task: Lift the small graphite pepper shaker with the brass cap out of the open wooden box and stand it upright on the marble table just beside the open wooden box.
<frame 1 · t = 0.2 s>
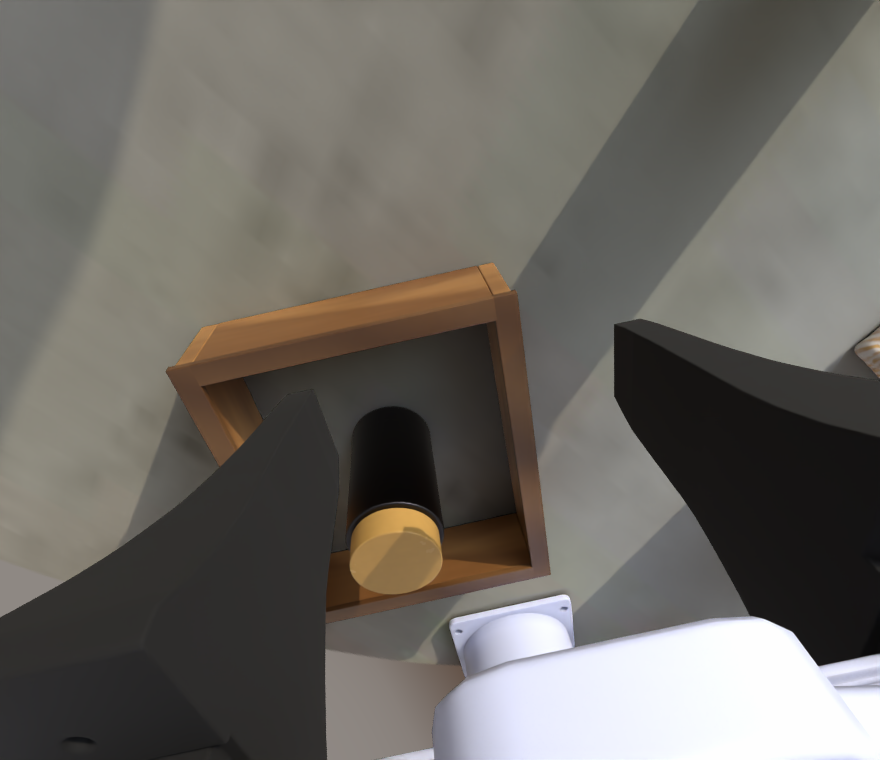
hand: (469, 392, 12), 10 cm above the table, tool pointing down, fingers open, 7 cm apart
pepper shaker: (393, 492, 22), in the open wooden box
open wooden box: (391, 438, 25), on the table
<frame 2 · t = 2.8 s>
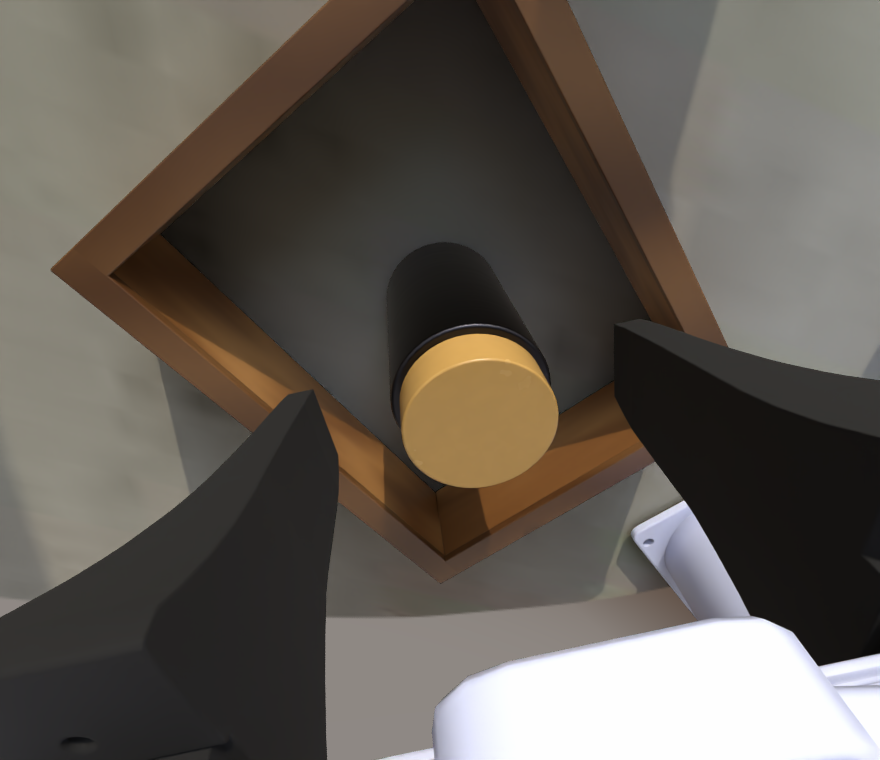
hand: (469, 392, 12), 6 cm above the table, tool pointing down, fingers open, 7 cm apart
pepper shaker: (457, 347, 14), in the open wooden box
open wooden box: (442, 297, 17), on the table
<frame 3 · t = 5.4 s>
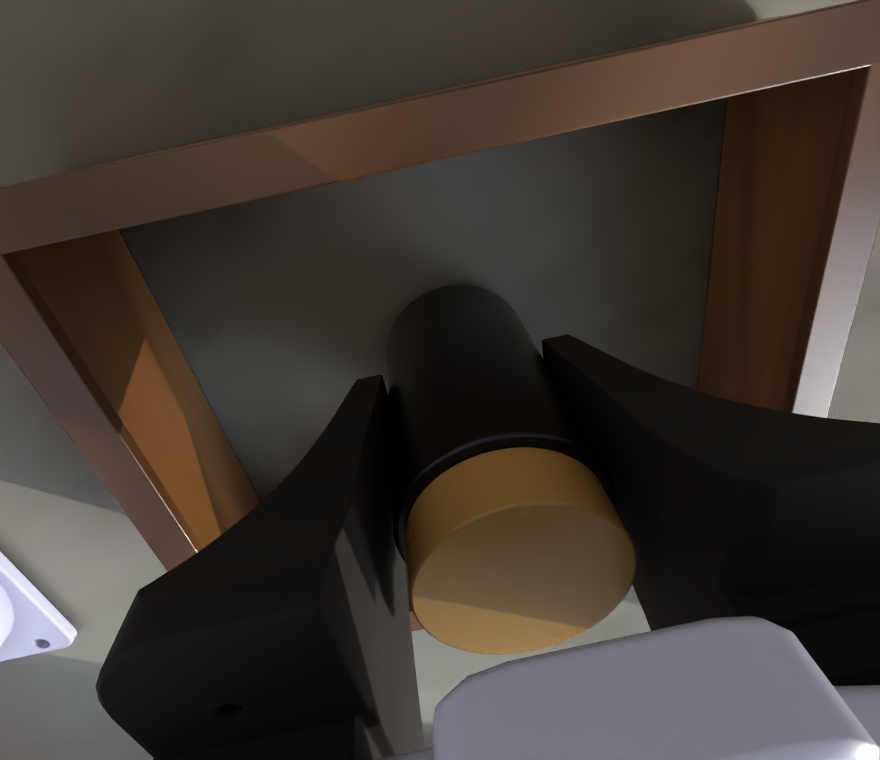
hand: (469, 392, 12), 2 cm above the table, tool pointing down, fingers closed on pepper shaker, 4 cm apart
pepper shaker: (480, 432, 11), in the open wooden box, touching gripper
open wooden box: (457, 349, 14), on the table
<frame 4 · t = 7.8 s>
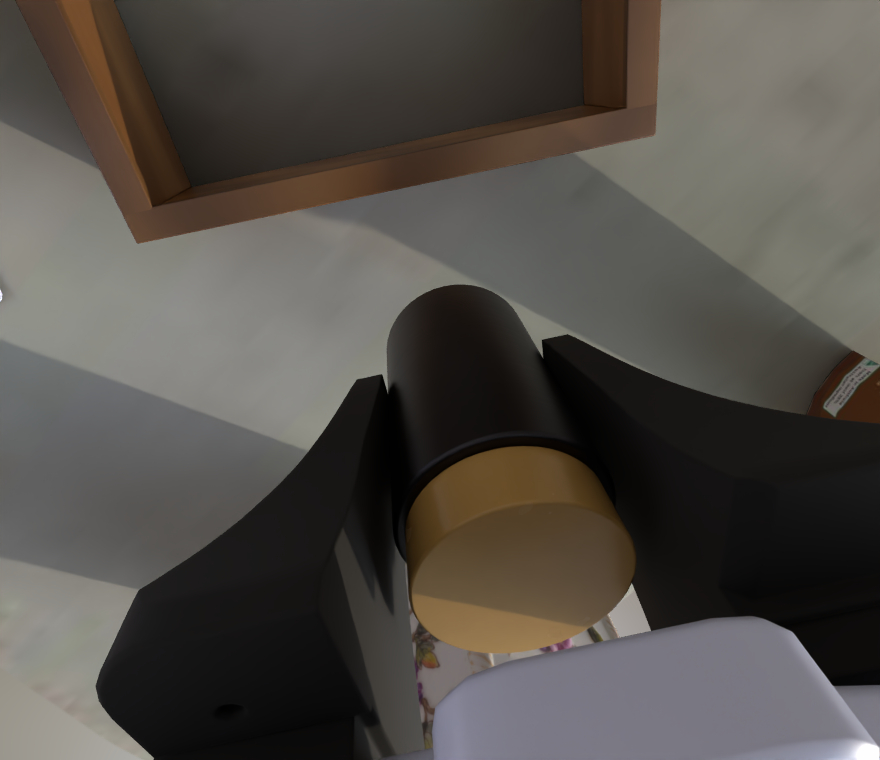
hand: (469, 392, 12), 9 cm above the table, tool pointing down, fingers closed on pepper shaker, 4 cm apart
pepper shaker: (479, 431, 11), point 11 cm above the table, touching gripper
decorative jar: (466, 594, 31), on the table
food container: (842, 432, 27), on the table
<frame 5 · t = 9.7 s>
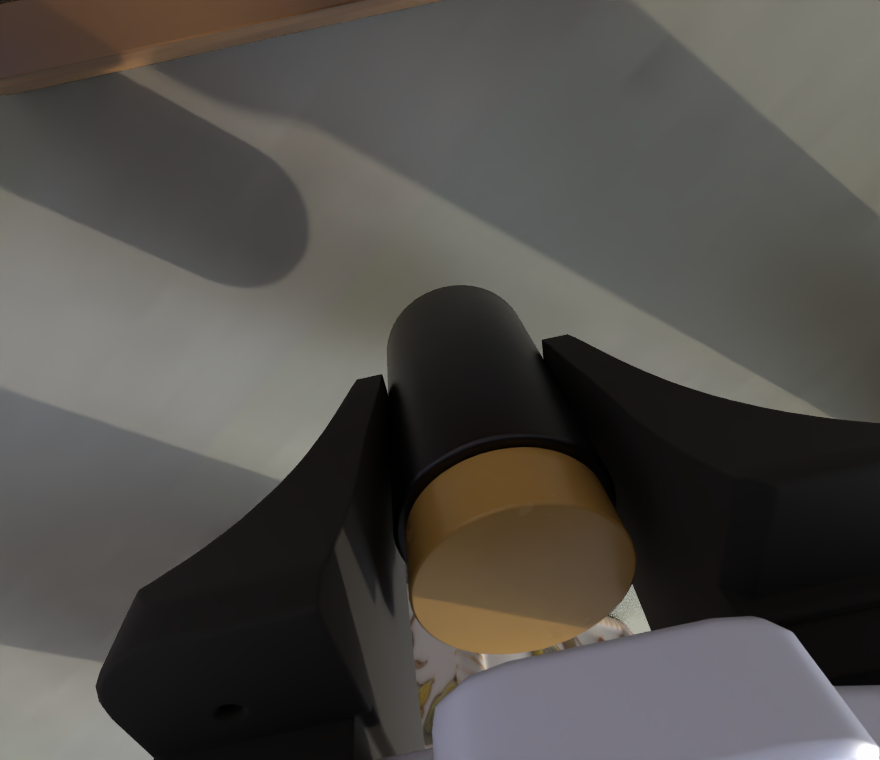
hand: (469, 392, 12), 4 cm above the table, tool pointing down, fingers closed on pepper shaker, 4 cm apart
pepper shaker: (480, 432, 11), point 5 cm above the table, touching gripper
decorative jar: (469, 646, 24), on the table
when the fingers open (2 cm above the table, at t = 10.7 s): pepper shaker stays where it is, on the table.
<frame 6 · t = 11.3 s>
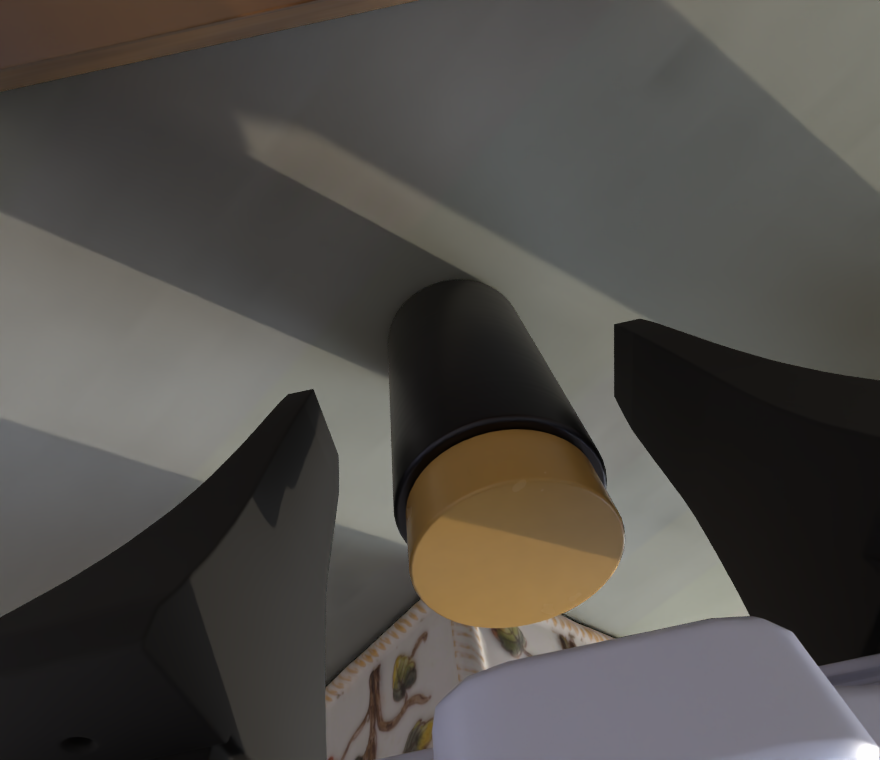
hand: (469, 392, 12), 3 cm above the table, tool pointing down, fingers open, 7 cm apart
pepper shaker: (477, 420, 11), on the table
decorative jar: (473, 670, 23), on the table
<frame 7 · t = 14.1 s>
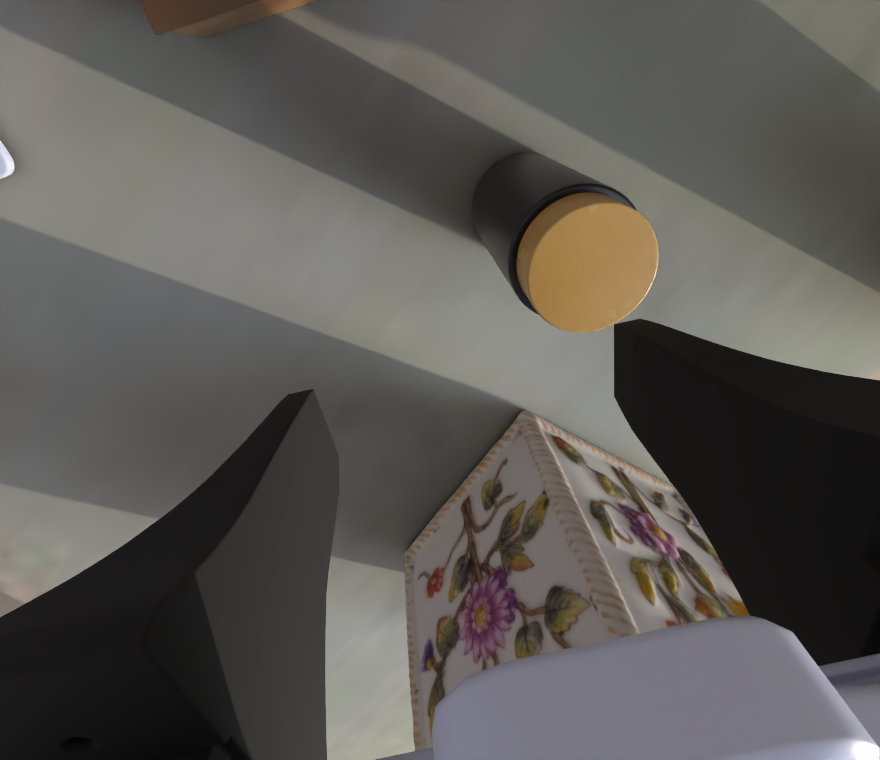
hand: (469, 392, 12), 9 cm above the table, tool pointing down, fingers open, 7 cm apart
pepper shaker: (549, 232, 16), on the table
decorative jar: (540, 517, 28), on the table
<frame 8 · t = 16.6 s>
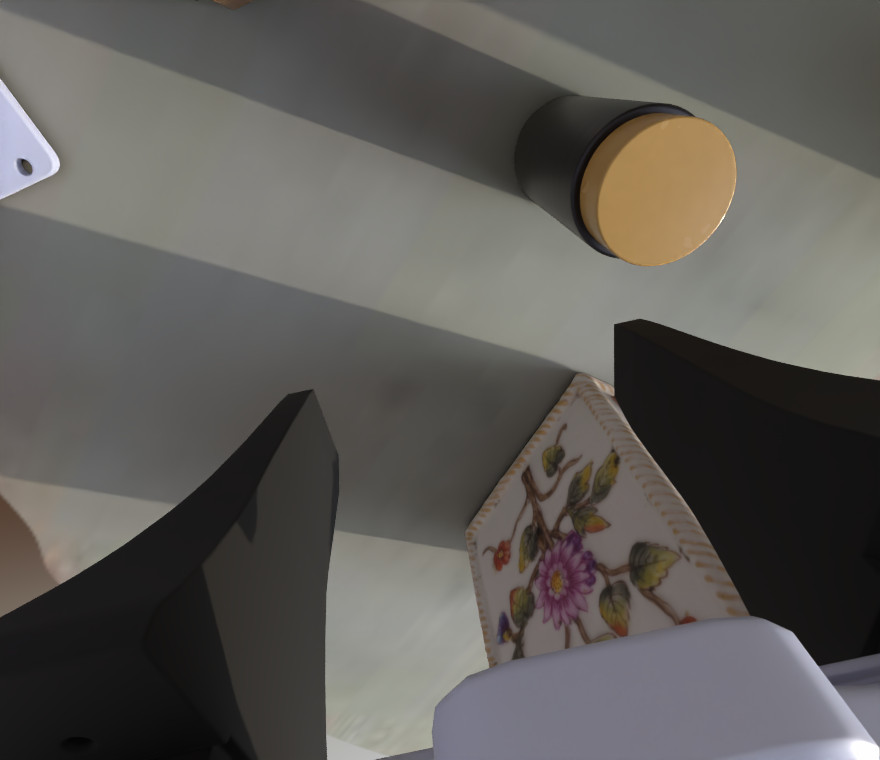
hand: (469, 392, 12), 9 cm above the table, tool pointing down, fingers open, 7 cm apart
pepper shaker: (604, 171, 15), on the table
decorative jar: (601, 484, 27), on the table
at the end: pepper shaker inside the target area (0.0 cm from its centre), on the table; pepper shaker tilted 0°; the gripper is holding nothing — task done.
